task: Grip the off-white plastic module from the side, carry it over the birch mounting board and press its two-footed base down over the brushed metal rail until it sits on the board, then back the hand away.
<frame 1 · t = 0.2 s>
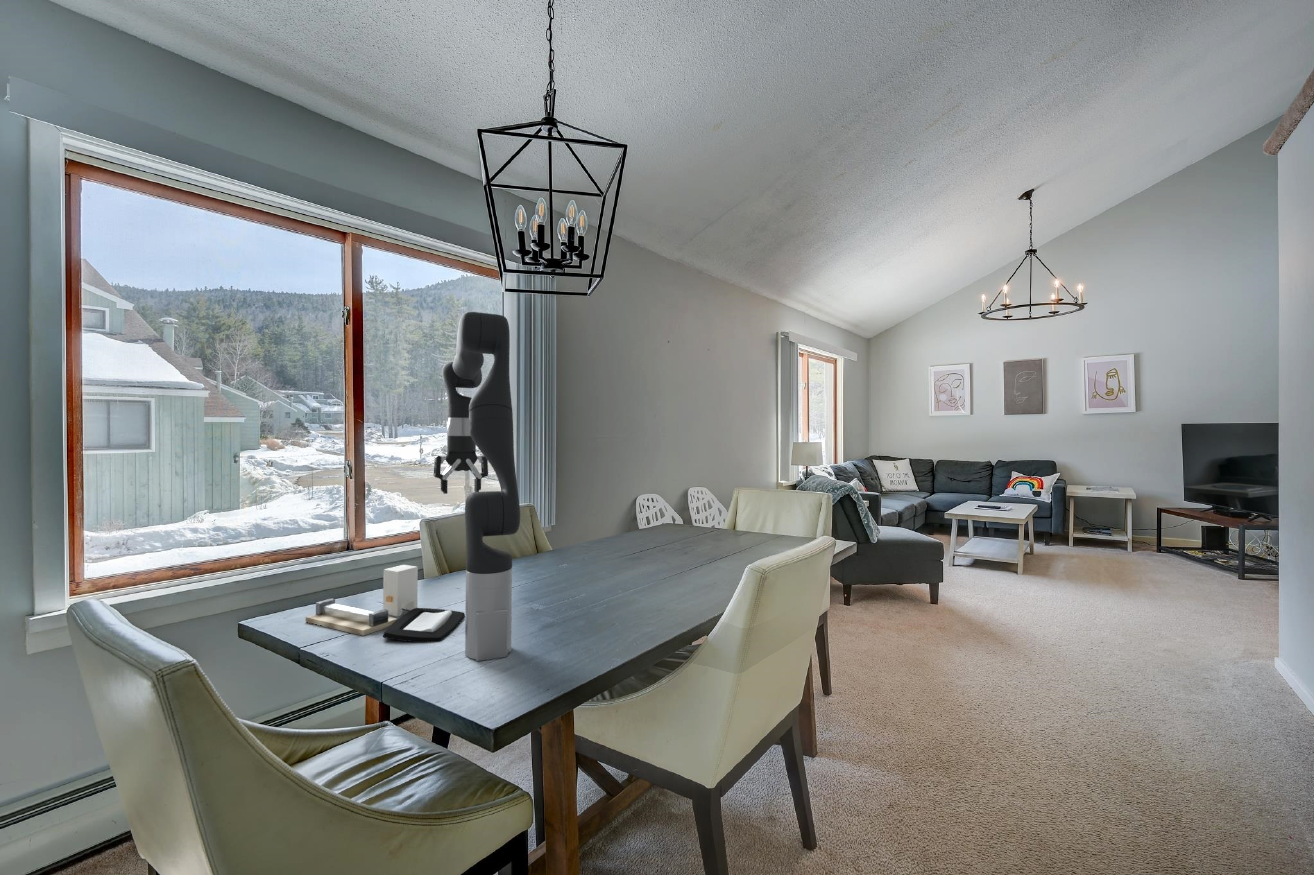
hand: (461, 492, 159), 29 cm above the table, tool pointing down, fingers open, 8 cm apart
light switch: (426, 629, 134), on the table
module: (400, 611, 145), on the table
rail: (351, 612, 136), on the mounting board, point 3 cm above the table
mounting board: (351, 623, 136), on the table
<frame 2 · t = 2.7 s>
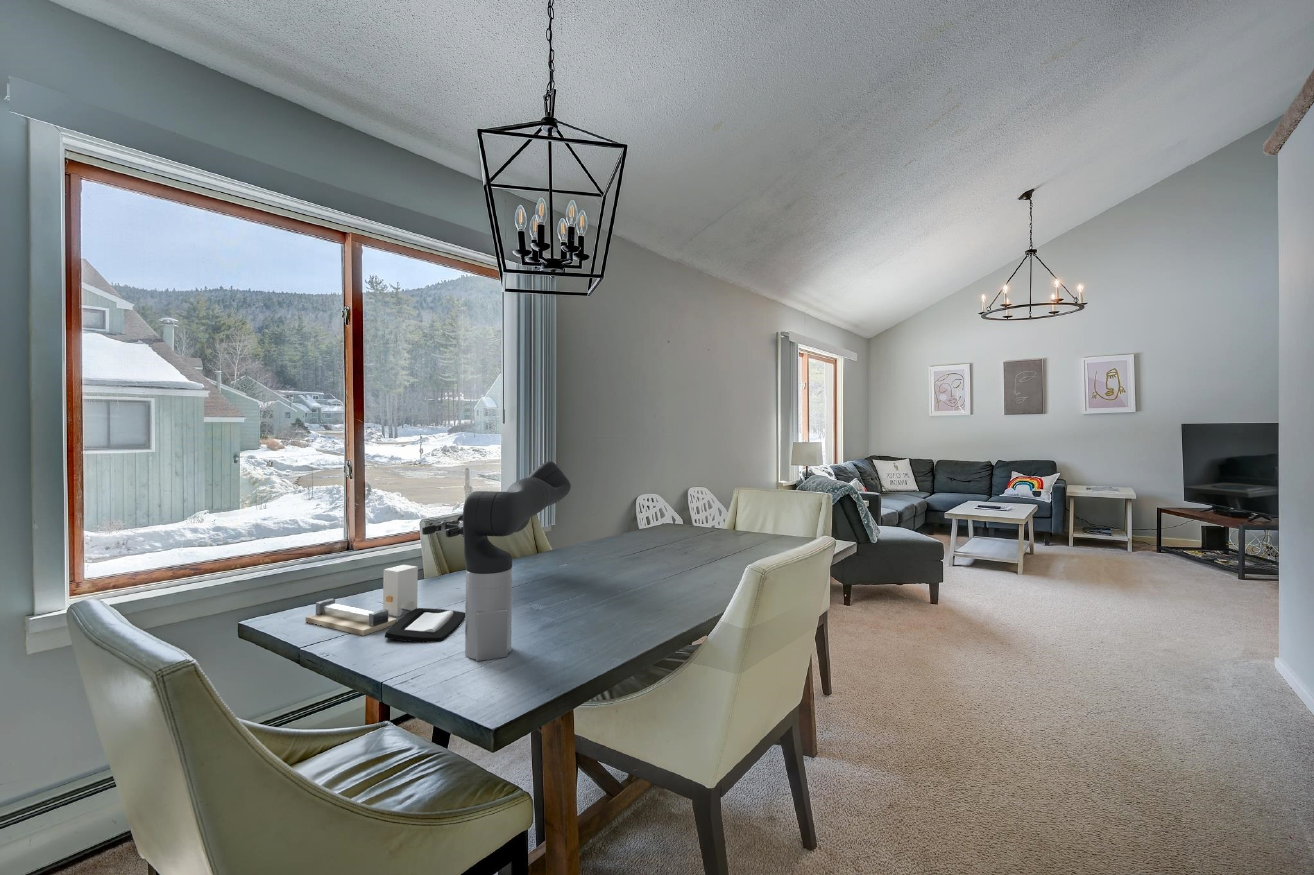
hand: (434, 532, 155), 18 cm above the table, tool horizontal, fingers open, 8 cm apart
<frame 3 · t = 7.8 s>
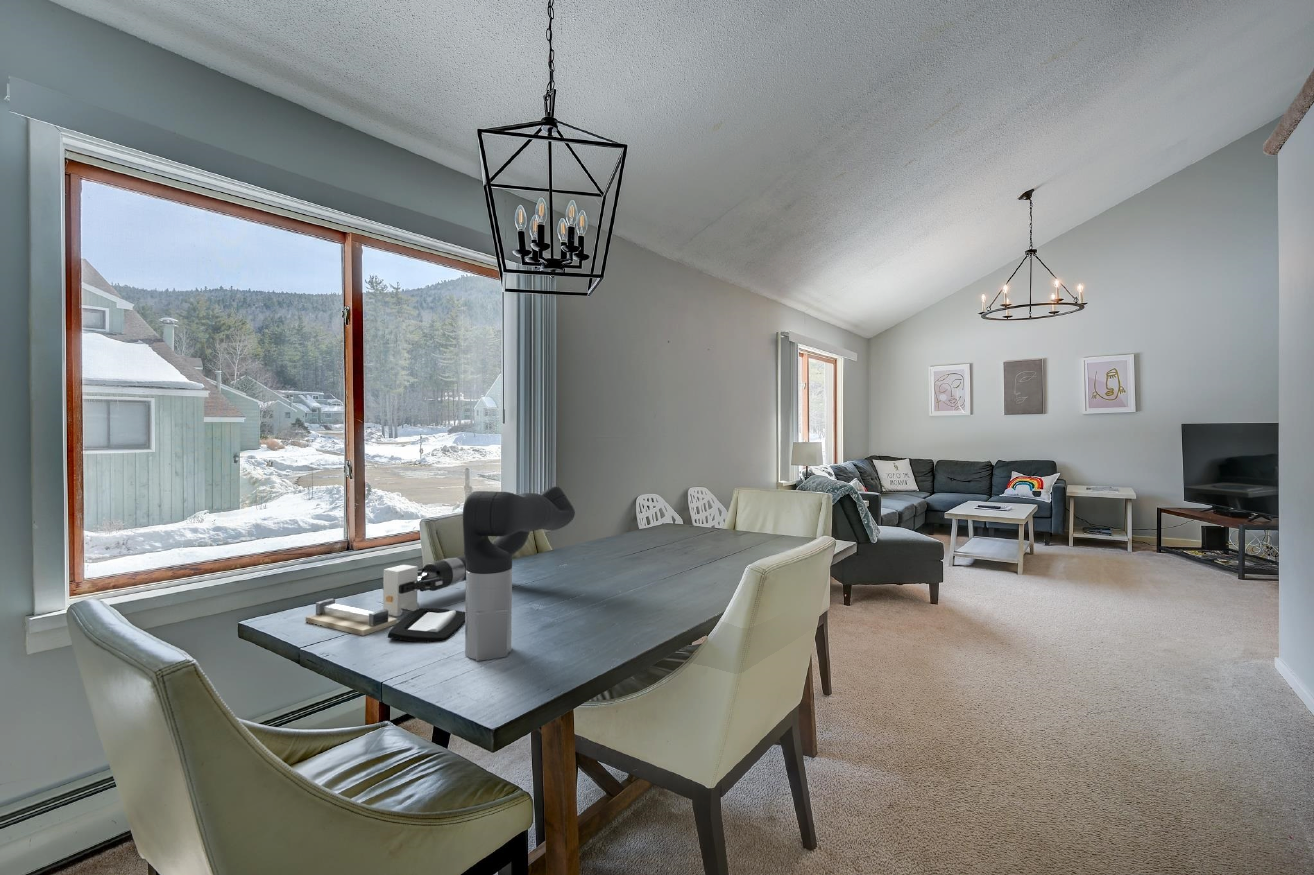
hand: (391, 588, 143), 7 cm above the table, tool horizontal, fingers closed on module, 5 cm apart
module: (400, 611, 145), on the table, touching gripper
when the fingers open (8 cm above the table, at t = 14.1 s): module stays where it is, resting on mounting board.
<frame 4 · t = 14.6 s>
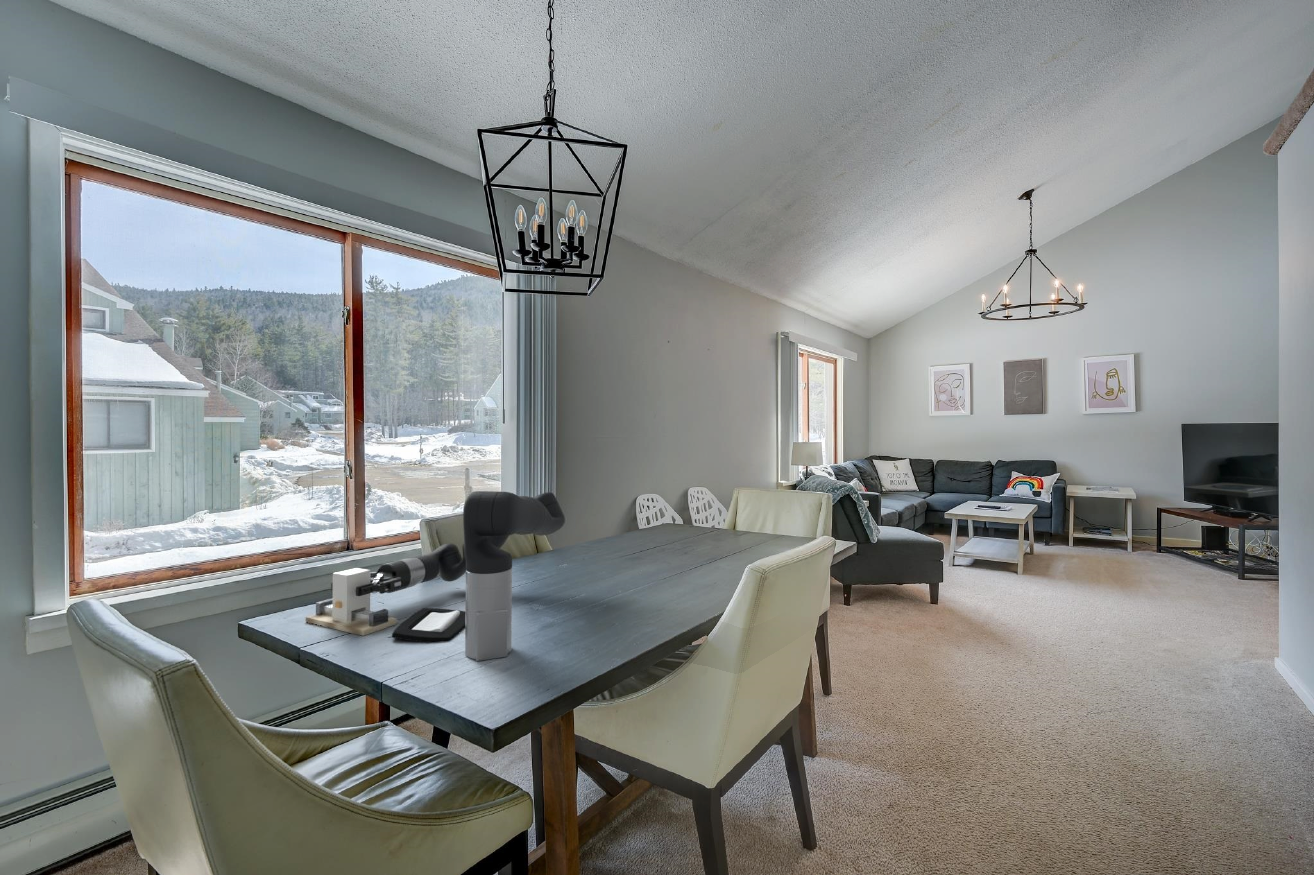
hand: (344, 589, 134), 8 cm above the table, tool horizontal, fingers open, 8 cm apart
module: (351, 618, 136), point 1 cm above the table, touching mounting board
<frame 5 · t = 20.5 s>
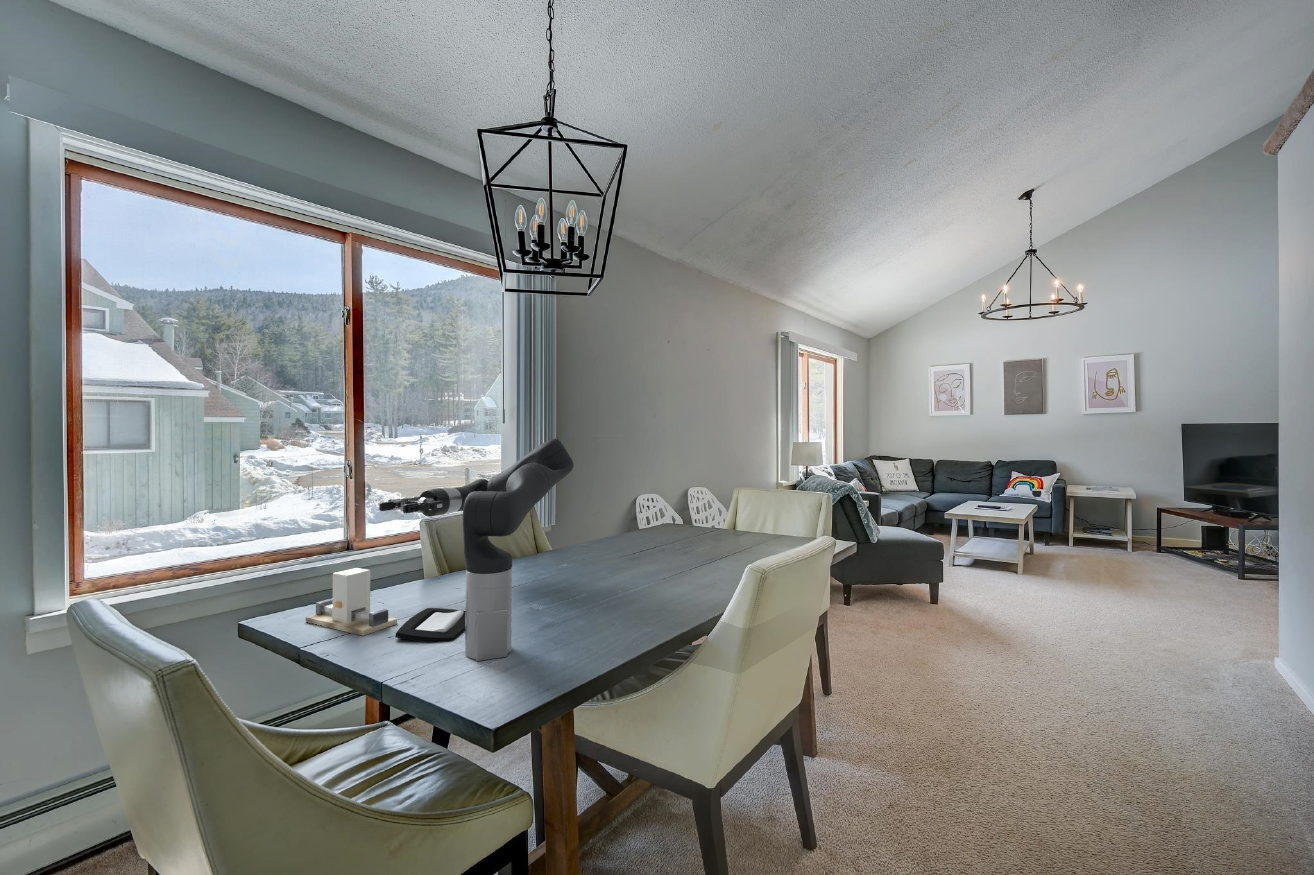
hand: (391, 508, 146), 26 cm above the table, tool horizontal, fingers open, 8 cm apart
at the end: module inside the target area on the mounting board (0.0 cm from its centre), point 1.2 cm above the mounting board's base; module tilted 0°; the gripper is holding nothing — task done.
